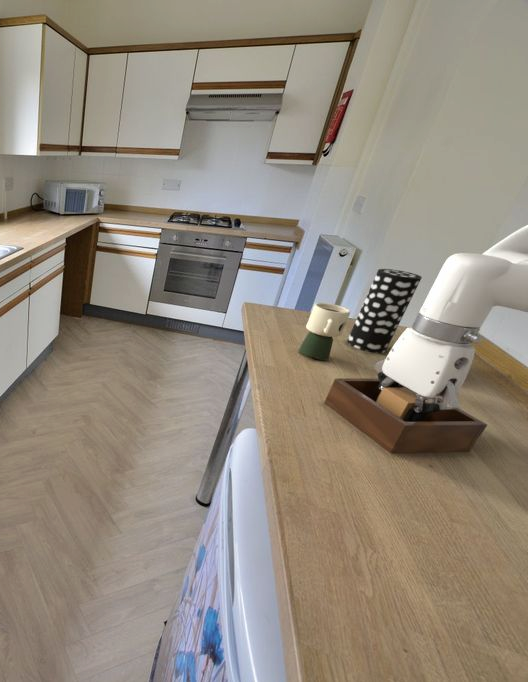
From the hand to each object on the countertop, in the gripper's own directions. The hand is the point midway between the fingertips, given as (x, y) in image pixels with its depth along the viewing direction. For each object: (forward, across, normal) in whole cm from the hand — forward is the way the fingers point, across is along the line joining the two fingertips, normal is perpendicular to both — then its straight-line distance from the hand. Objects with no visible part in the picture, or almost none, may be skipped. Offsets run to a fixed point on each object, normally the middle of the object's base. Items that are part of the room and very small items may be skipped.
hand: (394, 417), depth 76 cm
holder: (+2, 0, 0) cm, 2 cm away
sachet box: (+1, 0, 0) cm, 1 cm away
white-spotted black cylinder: (+2, +34, -26) cm, 43 cm away
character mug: (+2, +28, -6) cm, 29 cm away
